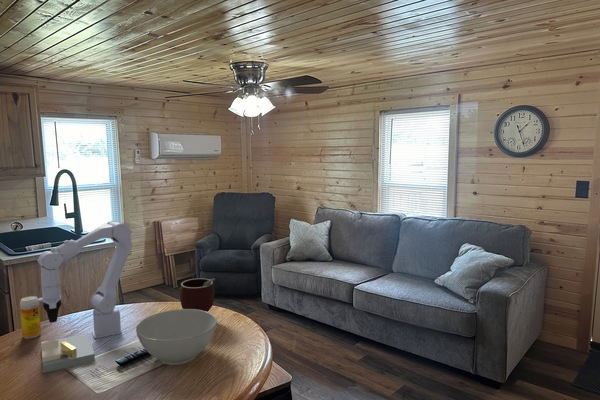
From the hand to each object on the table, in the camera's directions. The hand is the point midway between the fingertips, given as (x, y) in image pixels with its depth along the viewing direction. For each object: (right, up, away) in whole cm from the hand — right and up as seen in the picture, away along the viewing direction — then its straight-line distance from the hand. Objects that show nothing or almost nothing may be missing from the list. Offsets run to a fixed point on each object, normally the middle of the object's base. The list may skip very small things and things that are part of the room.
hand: (53, 321), depth 150 cm
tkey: (+12, -9, -11) cm, 19 cm away
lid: (+5, -8, -10) cm, 14 cm away
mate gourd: (+47, -8, +24) cm, 53 cm away
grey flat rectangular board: (+8, -11, -4) cm, 14 cm away
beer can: (-15, -9, +11) cm, 20 cm away
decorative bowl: (+46, -11, -4) cm, 48 cm away
